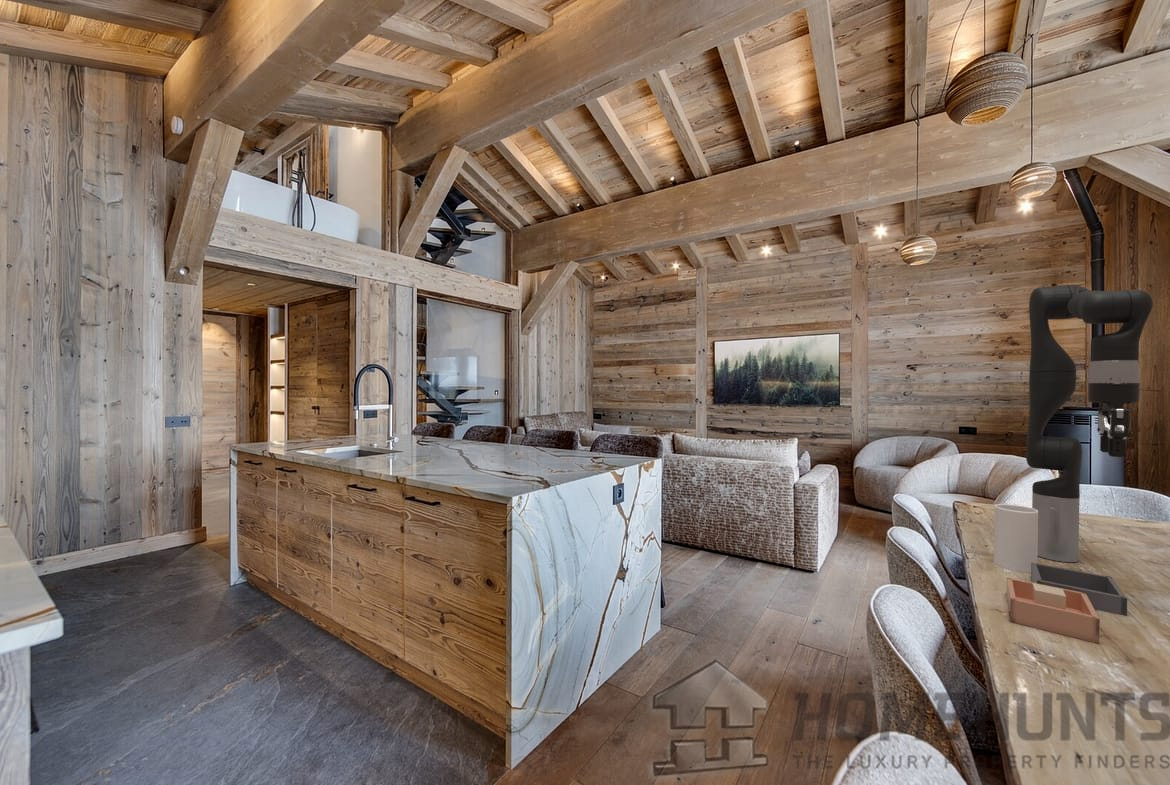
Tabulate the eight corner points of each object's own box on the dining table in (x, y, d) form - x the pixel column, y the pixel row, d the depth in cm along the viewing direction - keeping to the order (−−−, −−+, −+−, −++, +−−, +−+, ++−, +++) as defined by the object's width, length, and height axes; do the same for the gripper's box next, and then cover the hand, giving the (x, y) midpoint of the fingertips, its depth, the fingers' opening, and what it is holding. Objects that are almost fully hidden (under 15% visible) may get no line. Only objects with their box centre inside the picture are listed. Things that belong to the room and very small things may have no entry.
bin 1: (1006, 597, 103) (1006, 577, 103) (1085, 614, 96) (1085, 593, 96) (1010, 621, 93) (1010, 599, 93) (1099, 643, 85) (1099, 618, 85)
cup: (1022, 577, 114) (1023, 513, 114) (985, 565, 122) (986, 504, 122) (1045, 574, 116) (1046, 510, 116) (1008, 562, 124) (1009, 502, 124)
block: (1032, 605, 97) (1032, 583, 97) (1062, 612, 94) (1062, 589, 94) (1034, 613, 94) (1034, 590, 94) (1065, 620, 91) (1066, 596, 91)
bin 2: (1030, 580, 112) (1031, 562, 112) (1111, 596, 104) (1111, 576, 104) (1036, 601, 102) (1037, 580, 102) (1126, 620, 93) (1127, 598, 93)
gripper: (1082, 381, 111) (1081, 449, 111) (1094, 381, 100) (1093, 456, 100) (1130, 381, 106) (1129, 452, 106) (1148, 381, 95) (1146, 460, 95)
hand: (1111, 454), depth 103 cm, fingers open, 8 cm apart
